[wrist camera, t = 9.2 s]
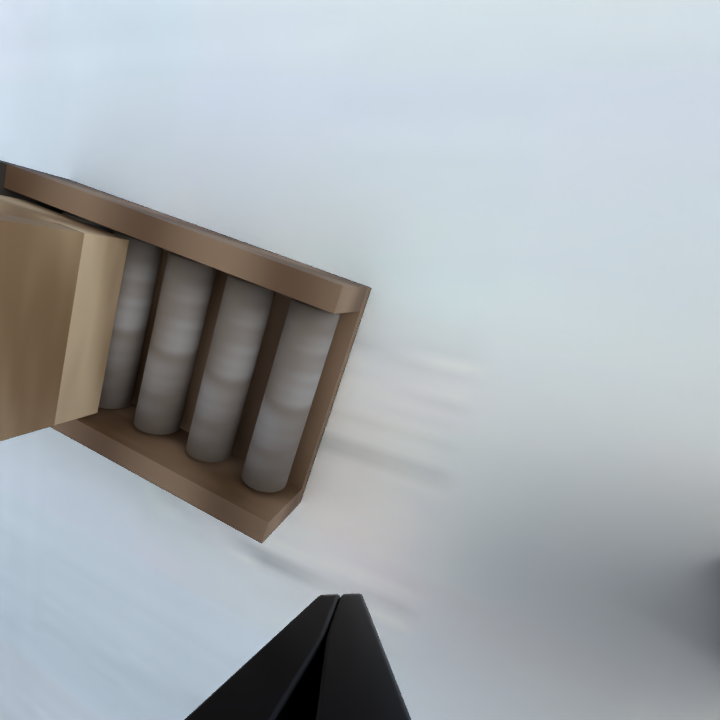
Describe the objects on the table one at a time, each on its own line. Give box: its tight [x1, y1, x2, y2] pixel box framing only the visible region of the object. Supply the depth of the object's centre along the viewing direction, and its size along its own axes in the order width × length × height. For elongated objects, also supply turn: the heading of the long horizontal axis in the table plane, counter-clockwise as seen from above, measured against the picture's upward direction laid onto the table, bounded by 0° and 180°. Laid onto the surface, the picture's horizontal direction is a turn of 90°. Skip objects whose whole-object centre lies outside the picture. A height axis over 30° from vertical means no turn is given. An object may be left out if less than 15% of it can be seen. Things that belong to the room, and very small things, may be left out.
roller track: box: [0, 160, 371, 543], centre depth 18 cm, size 17×11×6 cm, turn 71°
